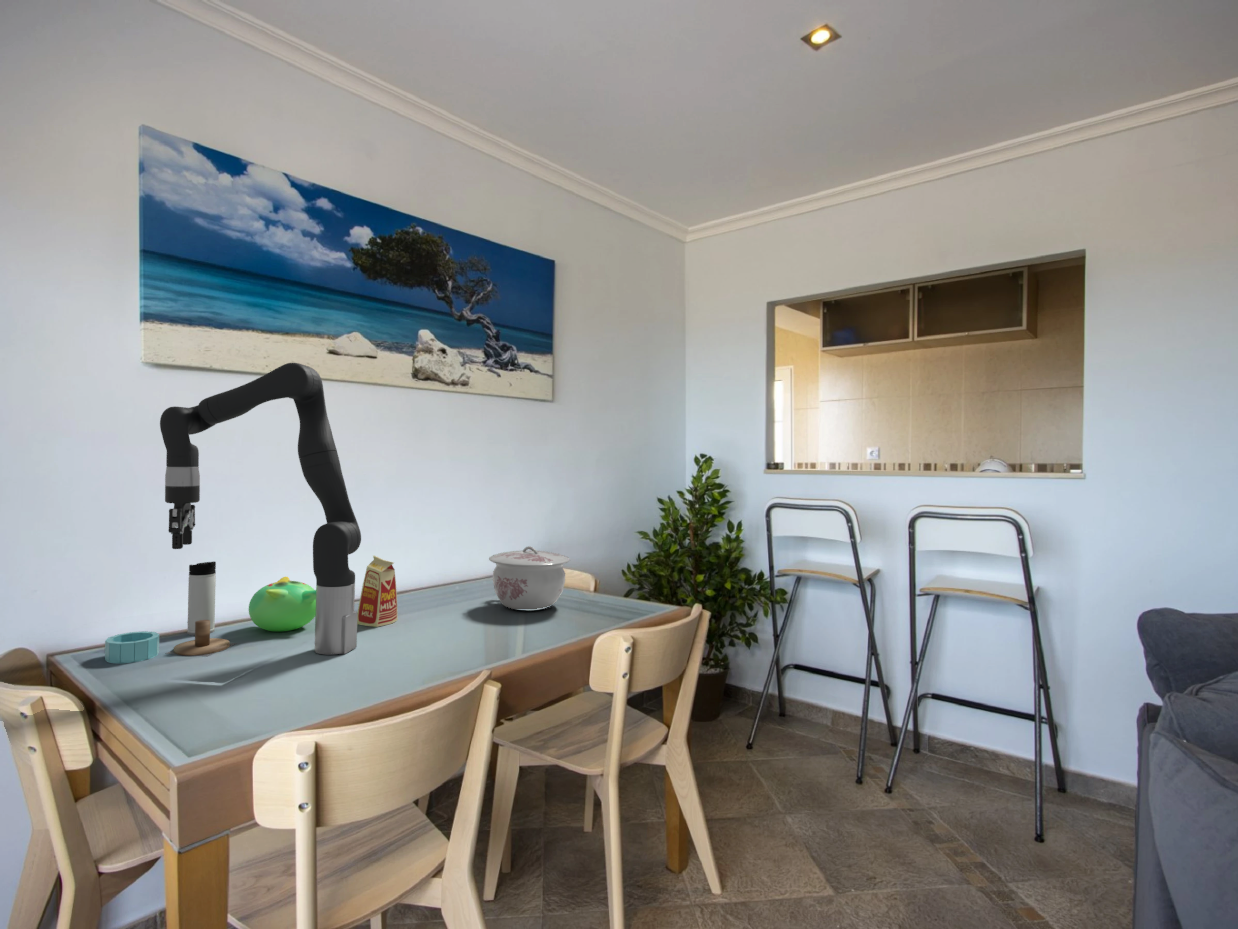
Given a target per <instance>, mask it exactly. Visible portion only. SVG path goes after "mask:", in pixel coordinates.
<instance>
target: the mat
mask: <svg viewBox="0 0 1238 929" xmlns="http://www.w3.org/2000/svg"><path fill="white" fill-rule="evenodd" d="M237 644H238V643H237V642H230V646H229V647H228V648H230V647H232V646H235V645H237ZM216 653H218V652H216ZM216 653H211V654H205V655H194V656H195V657H196V656H198V657H210V656H212V655H214V654H216ZM164 654H166V655H167V654H168V655H176V654H175V653H174V649H173V650H170V651H168V652H165V653H164ZM194 656H193V657H194Z"/></svg>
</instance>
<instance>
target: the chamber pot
mask: <svg viewBox="0 0 1238 929" xmlns="http://www.w3.org/2000/svg"><path fill="white" fill-rule="evenodd" d="M488 561H490V562H491V563H493V564H495V565H496V566H495V568H494V570H493V571H492V583H493V590H494V593H495V595H496V597H497V598H498V600H499V602H500V603H501V605H503V606H504V607H506V608H507V607H508V608H507V609H510V608H511V609H510V610H513V609H537V608H543V607H547V606H550V605H552V604H554V603H555V602H556V603H557V601H558V600H559V598H560V597H561V594H562V593H563V592H564V587H565V583H566V572H565V570H564V568H563V566H564V565H565V564H568V563H569V562H570V561H571V559H570V558H569V557H568V556H566V555H565V554H564V555H563V554H560V553H556V552H552V551H551V552H550V551H546V550H545V551H544V550H543V551H542V550H537V549H535V548H534V547H533V546H530V545H529V546H526V547H524V549H523V550H511V551H504V552H500V553H496V554H493V555H491V556H489V558H488ZM556 603H555V604H556ZM555 604H554V605H555Z"/></svg>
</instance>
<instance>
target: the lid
mask: <svg viewBox="0 0 1238 929" xmlns="http://www.w3.org/2000/svg"><path fill="white" fill-rule="evenodd" d="M230 643H231V642H230V640H228V639H224V638H218V637H217V638H215V637H214V638H213V637H211V633H210V620H199V621H196V622H195V635H194V639H193V640H188V641H184V642H181V643H179V644H176V645H175V646H174V647H173V650H174V653H175V654H174V655H177V656H185V657H186V656H193V657H194V655H205V654H211V653H214V654H216V652H217V653H218V652H222V651H225V650H227V649H228V648H230V647H231V646H230ZM229 646H230V647H229Z"/></svg>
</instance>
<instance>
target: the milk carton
mask: <svg viewBox="0 0 1238 929" xmlns="http://www.w3.org/2000/svg"><path fill="white" fill-rule="evenodd" d="M372 558H373V560H372V561H371V562H369V564H368V565H366V570H365V574H364V578H363V582H362V586H361V587H362V588H361V591H360V596H359V601H358V606H357V625H361V626H364V627H365V626H366V627H374V628H377V627H382V626H387V625H392V624H393V623H394V624H395V622H397V621H398V620H399V619H398V618H399V617H398V616H399V615H398V612H399V611H398V591H397V580H396V571H395V570H396V569H395V567H394V563H395V562H394V561H393V562H392V561H389V560H387V559H383V558H381V557H379V556H376V555H372Z"/></svg>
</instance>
